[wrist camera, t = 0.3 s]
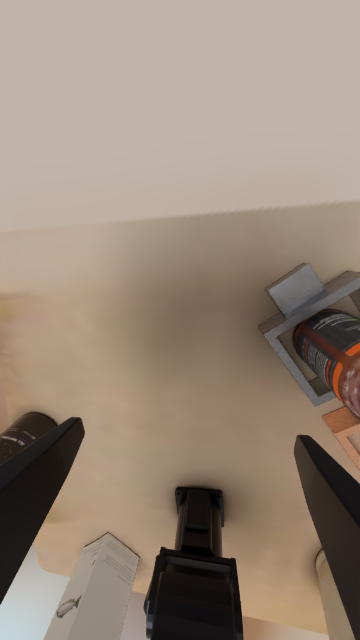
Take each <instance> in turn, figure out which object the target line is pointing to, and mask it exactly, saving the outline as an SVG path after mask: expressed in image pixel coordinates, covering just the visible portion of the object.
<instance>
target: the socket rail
mask: <svg viewBox="0 0 360 640" xmlns="http://www.w3.org/2000/svg"><path fill="white" fill-rule="evenodd" d="M265 289H266V291H267V292H268V294H269V295H270V297H271V298H272V300H273V301H274V303H275V304H276V306H277V307H278V309H279V310H280V311H281V312H280V313H278V314H277V315H275V316H274V317H272V318H270V319H269V320H267V321H265V322H264V323H262V324H261V325H259V326H258V327H259V329H260V330H261V332H262V333H263V335H264V336H265V338H266V339H267V340H268V342H269V343H270V345H271V346H272V347H273V349H274V350H275V352H276V353H277V354H278V356H279V357H280V359H281V360H282V362H283V363H284V364H285V366H286V367H287V369H288V370H289V371H290V373H291V374H292V376H293V377H294V378H295V380H296V381H297V383H298V384H299V385H300V387H301V388H302V390H303V391H304V392H305V394H306V395H307V397H308V398H309V399H310V401H311V402H312V404H313V405H314V406H315V407H316V406H318V405H320V404H322V403H324V402H326V401H329V400H331V399H333V398H335V397H336V396H335V394H334V393H333V392H332V391H331V390H330V389H329V388H328V387H327V385H326V384H325V383H324V382H323V381H322V380H321V379H320V378H319V377H318V378H316V379H314V380H312V381H310V382H307V380H306V379H305V377H304V376H303V374H302V373H301V372H300V370H299V369H298V367H297V366H296V365H295V363H294V362H293V360H292V359H291V357H290V356H289V355H288V353H287V352H286V350H285V349H284V347H283V346H282V345H281V343H280V342H279V340H278V339H277V336H278V335H280V334H282V333H283V332H285V331H287V330H289V329H290V328H292V327H294V326H295V325H297V324H299V323H300V322H302V321H304V320H306V319H307V318H309V317H311V316H312V315H314V314H316V313H318V312H319V311H321V310H323V309H324V308H326V307H328V306H329V305H331V304H333V303H335V302H336V301H338V300H340V299H341V298H343V297H345V296H346V295H348V294H350V296H351V298H352V299H353V301H354V303H355V304H356V306H357V307H358V309H359V311H360V272H352V271H346V272H345V273H343V274H341V275H340V276H338V277H337V278H335V279H333V280H332V281H330V282H328V283H327V284H325V285H324V286H323V284H322V283H321V281H320V279H319V278H318V276H317V275H316V273H315V272H314V270H313V268H312V267H311V265H310V264H309V263H303V264H301V265H300V266H298V267H297V268H295V269H294V270H292V271H291V272H289V273H288V274H286V275H285V276H283V277H282V278H280V279H279V280H277V281H276V282H274V283H273V284H271V285H270V286H268V287H267V288H265ZM322 417H323V419H324V420H325V422H326V423H327V424H328V426H329V427H330V429H331V430H332V432H333V433H334V435H335V436H336V437H337V439H338V440H339V442H340V443H341V444H342V446H343V447H344V449H345V450H346V451H347V453H348V454H349V456H350V457H351V458H352V460H353V461H354V463H355V464H356V465H357V467H358V468H359V470H360V456H359V454H358V453H357V451H356V450H355V449H354V447H353V446H352V444H351V443H350V441H349V440H348V439H347V437H346V436H349V435H351V434H354V433H356V432H359V431H360V417H359V416H357V415H356V414H354V413H353V412H352V411H350V410H349V409H348V408H347V407H346V406H345V407H343V408H340V409H338V410H336V411H334V412H331V413H329V414H327V415H325V416H322Z"/></svg>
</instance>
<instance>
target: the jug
mask: <svg viewBox="0 0 360 640" xmlns="http://www.w3.org/2000/svg"><path fill="white" fill-rule="evenodd" d="M316 570H317V573H318V580H319V589H320V595H321V600H322V605H323V609H324V614H325V619H326V624H327V629H328V634H329V638H330V640H355V638H354V635H353V632H352V629H351V626H350V624H349V621H348V618H347V615H346V612H345V610H344V607H343V604H342V601H341V598H340V596H339V593H338V590H337V587H336V584H335V582H334V579H333V576H332V573H331V570H330V568H329V565H328V562H327V559H326V556H325V554H324V551H323V549H322V550H321V551H320V553H319V554H318V556H317V559H316Z"/></svg>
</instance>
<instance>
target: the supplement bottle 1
mask: <svg viewBox="0 0 360 640" xmlns="http://www.w3.org/2000/svg"><path fill="white" fill-rule="evenodd" d="M56 427H57V426H56V425H55V423H54V422H53V421H51V420H50V419H49V418H47V417H46V416H43V415H41V414H35V413H31V414H26V415H24V416H22V417H20V418H19V419H18V420H17V421H15V422H14V423H13V424H12V425H11V426H9V427H8V428H7V429H6V430H5V431H3V432H2V433H1V434H0V465H1V464H2V463H4V462H5V461H7V460H8V459H10V458H11V457H13V456H14V455H16V454H17V453H19V452H20V451H22V450H23V449H25V448H26V447H27V446H29V445H30V444H32V443H33V442H35V441H36V440H38V439H39V438H41V437H42V436H44V435H45V434H47V433H48V432H50V431H51V430H53V429H54V428H56Z"/></svg>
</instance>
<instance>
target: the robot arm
mask: <svg viewBox="0 0 360 640" xmlns="http://www.w3.org/2000/svg"><path fill="white" fill-rule="evenodd" d="M84 434H85V430H84V426H83V423H82V419H81V418H79V417H71V418H69V419H67V420H66V421H64V422H63V423H61V424H60V425H59V426H57V427H56V428H54V429H53V430H51V431H50V432H48V433H47V434H45V435H44V436H42V437H41V438H39V439H38V440H36V441H35V442H33V443H32V444H30V445H29V446H27V447H26V448H25V449H23V450H22V451H20V452H19V453H17V454H16V455H14V456H13V457H11V458H10V459H8V460H7V461H5V462H4V463H2V464H1V465H0V604H1V603H2V601H3V599H4V597H5V595H6V593H7V591H8V589H9V587H10V585H11V583H12V582H13V579H14V578H15V576H16V574H17V572H18V570H19V568H20V566H21V564H22V562H23V560H24V558H25V557H26V555H27V553H28V551H29V549H30V547H31V545H32V543H33V541H34V539H35V537H36V535H37V534H38V532H39V530H40V528H41V526H42V524H43V522H44V520H45V518H46V516H47V514H48V512H49V510H50V509H51V507H52V505H53V503H54V501H55V499H56V497H57V495H58V493H59V491H60V489H61V487H62V485H63V484H64V482H65V480H66V478H67V476H68V474H69V471H70V469H71V467H72V464H73V462H74V460H75V457H76V455H77V452H78V450H79V447H80V445H81V443H82V440H83V438H84ZM294 456H295V460H296V464H297V468H298V472H299V476H300V480H301V484H302V488H303V491H304V495H305V499H306V503H307V506H308V509H309V511H310V514H311V517H312V520H313V523H314V526H315V528H316V531H317V534H318V537H319V540H320V542H321V545H322V548H323V551H324V554H325V556H326V559H327V562H328V565H329V568H330V570H331V573H332V576H333V579H334V582H335V584H336V587H337V590H338V593H339V596H340V598H341V601H342V604H343V607H344V610H345V612H346V615H347V618H348V621H349V624H350V626H351V629H352V632H353V635H354V638H355V640H360V484H359V483H358V482H357V481H356V480H355V479H354V478H353V477H352V476H351V475H350V474H349V473H348V472H347V471H346V470H345V469H344V468H343V467H342V466H341V465H340V464H338V463H337V462H336V461H335V460H334V459H333V458H332V457H331V456H330V455H329V454H328V453H327V452H326V451H325V450H324V449H323V448H322V447H321V446H320V445H319V444H318V443H317V442H316V441H315V440H314V439H313V438H312V437H310V436H308V435H297V437H296V442H295V447H294ZM175 496H176V504H177V511H178V523H177V532H176V540H175V548H174V550H172V549H166V547H161V550H160V554H159V555H157V556H156V561H155V567H154V572H153V576H152V580H151V583H150V586H149V589H148V592H147V595H146V599H145V602H144V612H145V614H146V624H147V628H146V636H147V638H148V639H150V640H243V624H242V611H241V601H240V593H239V584H238V576H237V567H236V559H235V558H231V559H229V558H223V557H222V534H221V527H224V510H223V493H222V492H221V491H216V490H202V489H188V488H176V490H175Z"/></svg>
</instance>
